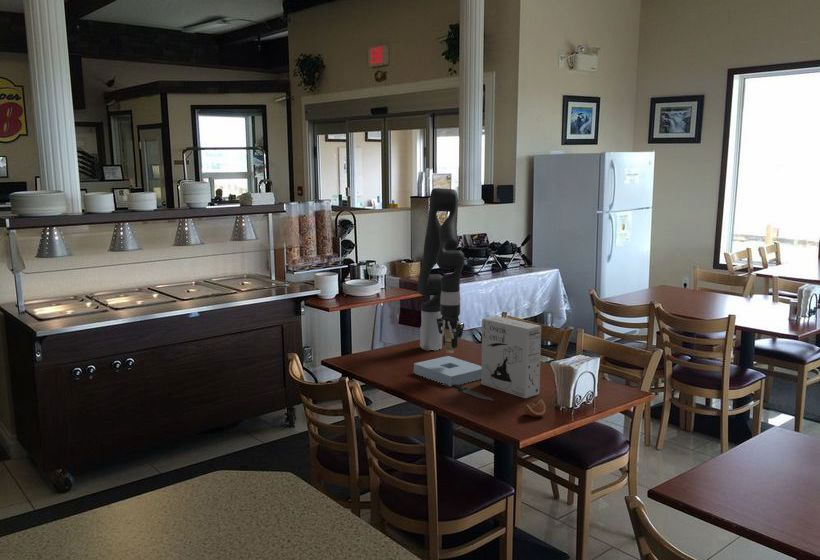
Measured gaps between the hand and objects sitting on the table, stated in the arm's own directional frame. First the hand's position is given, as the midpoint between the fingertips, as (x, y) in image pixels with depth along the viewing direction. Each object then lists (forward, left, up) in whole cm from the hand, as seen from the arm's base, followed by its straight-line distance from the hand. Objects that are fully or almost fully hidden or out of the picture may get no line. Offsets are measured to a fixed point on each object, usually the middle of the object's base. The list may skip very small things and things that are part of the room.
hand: (450, 346), depth 267 cm
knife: (+19, -8, -12) cm, 24 cm away
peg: (0, 0, -2) cm, 2 cm away
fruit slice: (+50, -8, -12) cm, 52 cm away
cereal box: (+26, +6, -12) cm, 29 cm away
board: (0, 0, -12) cm, 12 cm away
